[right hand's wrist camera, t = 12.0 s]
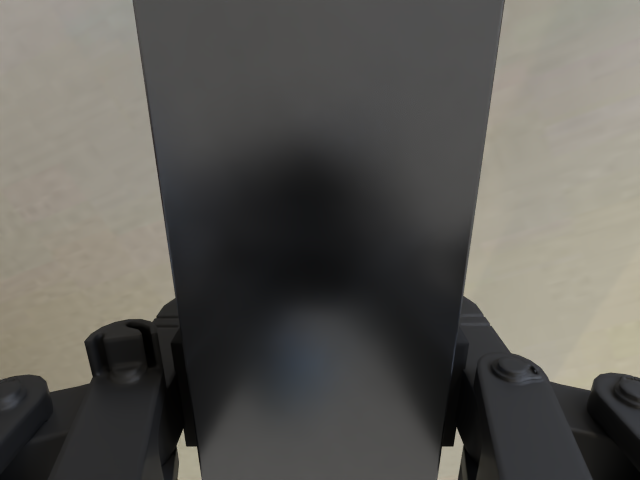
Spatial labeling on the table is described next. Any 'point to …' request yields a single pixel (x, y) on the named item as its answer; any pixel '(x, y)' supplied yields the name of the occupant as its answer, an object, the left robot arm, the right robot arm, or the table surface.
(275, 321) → the bar
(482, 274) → the table surface
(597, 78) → the table surface
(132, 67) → the table surface
